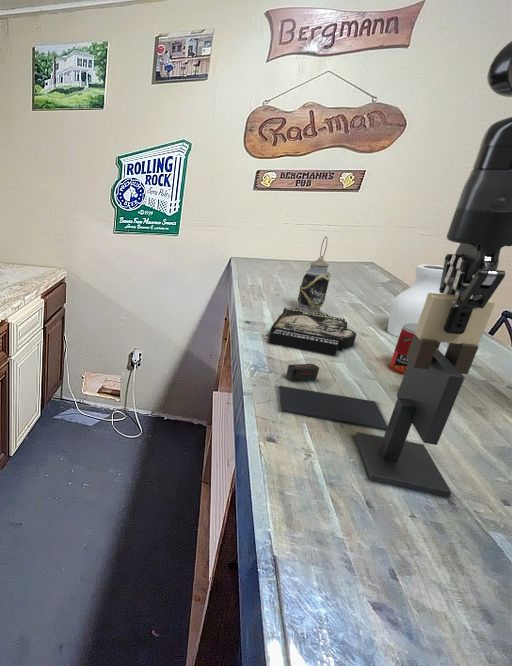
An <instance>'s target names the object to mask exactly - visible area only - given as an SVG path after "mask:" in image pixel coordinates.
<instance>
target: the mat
mask: <svg viewBox="0 0 512 666" xmlns="http://www.w3.org/2000/svg"><path fill="white" fill-rule="evenodd" d="M279 397H280V409H281V412H283V413H288V414H292V415H293V414H294V415H298V416H305V417H310V418H315V419H321V420H325V421H331V422H332V421H333V422H337V423H343V424H347V425H352V426H353V425H354V426H357V427H364V428H369V429H373V430H374V429H375V430H382V431H385V432H386V430H387V427H388V424H387V423H386V421H385V419H384V418H383V415H382V413H381V411H380V409H379V407H378V405H377V403H376V401H375V400H368V399H363V398H356V397H350V396H345V395H339V394H332V393H325V392H321V391H313V390H308V389H303V388H297V387H291V386H290V387H289V386H285V385H284V386H283V385H279Z"/></svg>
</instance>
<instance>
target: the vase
mask: <svg viewBox="0 0 512 666" xmlns="http://www.w3.org/2000/svg"><path fill="white" fill-rule="evenodd" d="M443 268H444V265H436V264H418V265H416V267H415V280H414V282H413V284H412V285H410V286H409V287H408V288H407V289H405V290H404V291H402V292H401V293H399V294H397V295H396V296H395V297H394V298H393V299H392V301H391V303H390V304H389V309H388V325H387V329H386V331H387V332H388V333H389V334H391V335H392V336H395V337H398V338H399V336H400V333H401V330H402V328H403V325H405V324H410V323H415V324H418V322H419V319H420V316H421V313H422V310H423V307H424V304H425V301H426V298H427V295H428V293H436V294H443V293H440V292H439V289H440V284H441V279H442V273H443Z"/></svg>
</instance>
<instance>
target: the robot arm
mask: <svg viewBox="0 0 512 666" xmlns="http://www.w3.org/2000/svg"><path fill="white" fill-rule="evenodd" d="M486 79H487V84H488V86H489V88H490V89H491V91H492V92H493V93H495V94H497V95H498V96H502V97H506V98H512V40H511V41H509V43H507V44H506V45H505V46H503V48H502V49H500V51H498V53H496V55H495V56H494V58H493V60H492V61H491V63H490V65H489V67H488V70H487V77H486ZM469 173H470V174H469V176H468V178H467V180H466V181H465V183H464V185H463V188H462V190H461V193H460V196H459V199H458V202H457V204H456V208H455V211H454V213H453V216H452V219H451V223H450V225H449V228H448V231H447V234H446V239H447V240H448V241H450V242H452V243H457V244H459V246H458V247H457V249H456V251H455V253H447V254H446V255H445V257H444V262H443V266H444V268H443V273H442V279H441V284H440V289H439V292H440V293H443V294H449V295H455V296H454V299H453V302H452V307H451V309H450V312H449V315H448V318H447V320H446V323H445V326H444V331H445V332H446V333H452V334H463V333H464V332H465V329H466V326H467V324H468V321H469V319H470V316H471V314H472V311H473V309H474V310H475V309H477V308H481V309H482V308H484V306H485V305H486V303H487V302H488V300H489V299H490V300H491V297H492V296H493V295H494V294H495V292H496V290H497V289H498V287H499V286H500V284H501V283H502V282H503V280H504V278H505V277H506V271H505V270H498V267H499V263H500V259H499V258H500V254H501V249H502V248H504V247H512V116H509V117H507V118H503V119H499V120H498V121H495V122H493V123H492V124H490V126H489V127H488V128H487V129H486V131H485V133H484V135H483V137H482V140H481V143H480V146H479V148H478V151H477V154H476V156H475V159H474V163H473V165H472V169H471V171H470V172H469ZM471 296H472V299H471Z"/></svg>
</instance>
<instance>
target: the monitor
mask: <svg viewBox="0 0 512 666" xmlns="http://www.w3.org/2000/svg"><path fill="white" fill-rule="evenodd" d="M465 378H466V377H465V376H464V374H461V373H460V372H459V371H458V370H457V369H456V368H455V367H454V365H453V364H452V363H451V362H450V361H449V360H448V359H447V358H446V357H445V354H443V353H442V352H441V350H440V349H439V348H438V349H437V348H436V350H435V352H434V355H433V358H432V361H431V363H430V366H429V369H422V368H414V367H413V366H412V364H411V363H410V362H408V365H407V368H406V371H405V373H404V375H403V376H402V379H401V382H400V385H399V387H398V391H397V392H396V398H397V399H396V401H395V403H394V407H393V409H392V413H391V416H390V418H389V421H388V424H387V430H386V431H385V432H384V435H383V436H380V435H375V434H371V433H364V432H360V431H356V432H355V436H354V439H355V441H356V443H357V447H358V449H359V453H360V455H361V459H362V461H363V465H364V467H365V470H366V472H367V475H368V478H369V481H370V482H374V483H377V484H383V485H387V486H392V487H397V488H401V489H406V490H411V491H415V492H419V493H424V494H428V495H433V496H437V497H442V498H446V499H450V496H451V494H452V490H451V489H450V487H449V485H448V483H447V482H446V481H445V478H444V477H443V475H442V474H441V472H440V470H439V468H438V466H437V465H436V463H435V462H434V460H433V458H432V456H431V455H430V453H429V451H428V449H427V448H426V446H425V444H427V445H434V446H438V443H439V442H440V439H441V437H442V433H443V431H444V429H445V426H446V424H447V421H448V419H449V416H450V415H451V412H452V409H453V407H454V405H455V402H456V400H457V397H458V395H459V393H460V390H461V387H462V386H463V383H464V380H465ZM412 426H413V428H414V429H415V430H416V432H417V433H418V436H419V437H420V439H421V441H422V443H417V442H412V441H407V437H408V435H409V432H410V430H411V427H412Z"/></svg>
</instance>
